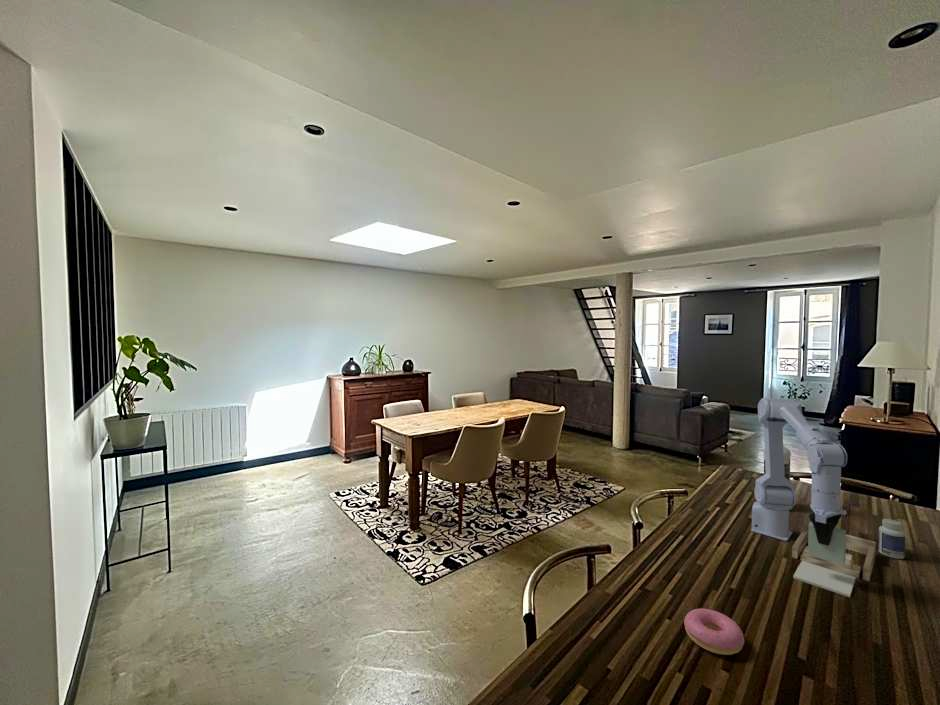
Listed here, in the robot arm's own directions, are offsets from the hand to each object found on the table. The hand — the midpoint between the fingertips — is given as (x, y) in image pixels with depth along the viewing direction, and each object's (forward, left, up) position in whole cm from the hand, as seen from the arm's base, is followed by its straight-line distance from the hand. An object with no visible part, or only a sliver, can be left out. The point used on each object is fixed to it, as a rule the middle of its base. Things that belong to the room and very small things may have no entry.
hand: (824, 541), depth 107 cm
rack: (0, +16, -10) cm, 19 cm away
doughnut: (-12, -45, -10) cm, 48 cm away
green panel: (0, 0, -4) cm, 4 cm away
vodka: (-20, +48, -10) cm, 53 cm away
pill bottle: (+11, +30, -10) cm, 34 cm away
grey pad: (0, 0, -10) cm, 10 cm away
